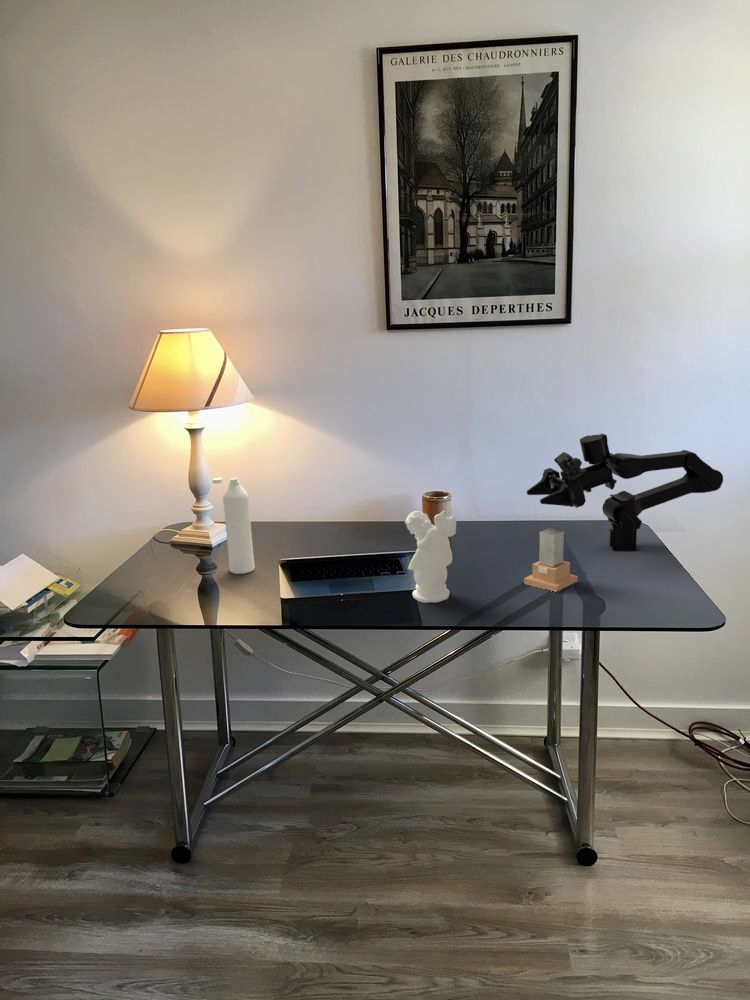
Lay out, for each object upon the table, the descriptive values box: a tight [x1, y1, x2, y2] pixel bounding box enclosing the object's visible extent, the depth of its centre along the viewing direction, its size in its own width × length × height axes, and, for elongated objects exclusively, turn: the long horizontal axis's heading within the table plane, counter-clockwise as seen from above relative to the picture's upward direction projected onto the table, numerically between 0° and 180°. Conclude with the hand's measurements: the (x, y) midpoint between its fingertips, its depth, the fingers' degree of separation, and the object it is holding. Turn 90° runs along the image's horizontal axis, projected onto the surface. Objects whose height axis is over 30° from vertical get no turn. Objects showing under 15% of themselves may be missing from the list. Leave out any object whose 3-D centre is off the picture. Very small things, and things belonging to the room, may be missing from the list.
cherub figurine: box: [404, 510, 457, 604], centre depth 184 cm, size 12×12×22 cm
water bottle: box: [212, 477, 256, 575], centre depth 206 cm, size 9×6×25 cm
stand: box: [523, 560, 579, 593], centre depth 190 cm, size 9×9×5 cm
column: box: [538, 527, 565, 568], centre depth 189 cm, size 4×4×11 cm
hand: (533, 497), depth 205 cm, fingers open, 9 cm apart
